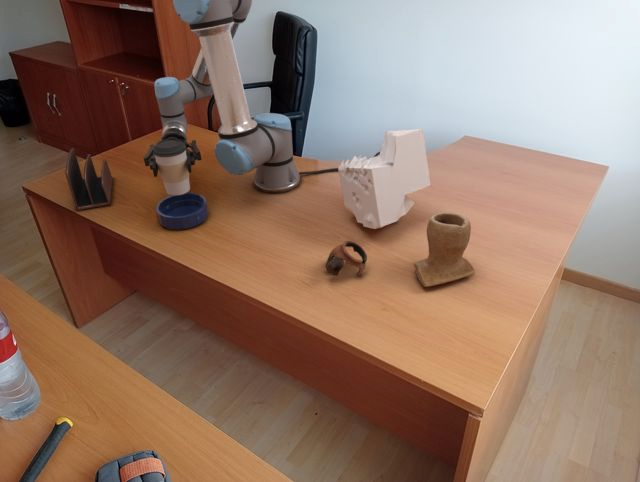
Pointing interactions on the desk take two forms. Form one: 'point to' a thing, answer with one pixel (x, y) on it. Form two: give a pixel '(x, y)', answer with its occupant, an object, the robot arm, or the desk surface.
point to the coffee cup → (172, 165)
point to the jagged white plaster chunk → (385, 179)
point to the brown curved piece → (345, 258)
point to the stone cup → (445, 250)
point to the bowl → (182, 211)
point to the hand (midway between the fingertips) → (172, 170)
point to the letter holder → (88, 183)
